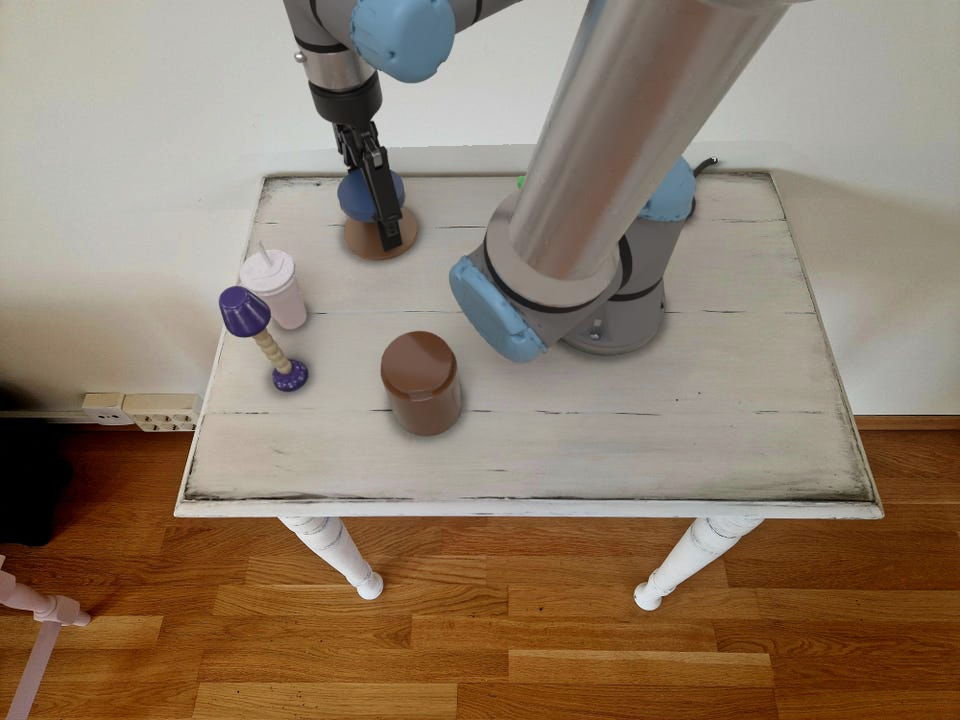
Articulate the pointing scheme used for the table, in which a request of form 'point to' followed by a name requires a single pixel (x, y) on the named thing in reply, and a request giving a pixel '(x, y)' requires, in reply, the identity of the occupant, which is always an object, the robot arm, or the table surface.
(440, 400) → the jar
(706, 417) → the table surface
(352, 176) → the jar lid
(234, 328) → the toy lamp
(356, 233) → the coaster
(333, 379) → the table surface
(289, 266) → the smoothie
